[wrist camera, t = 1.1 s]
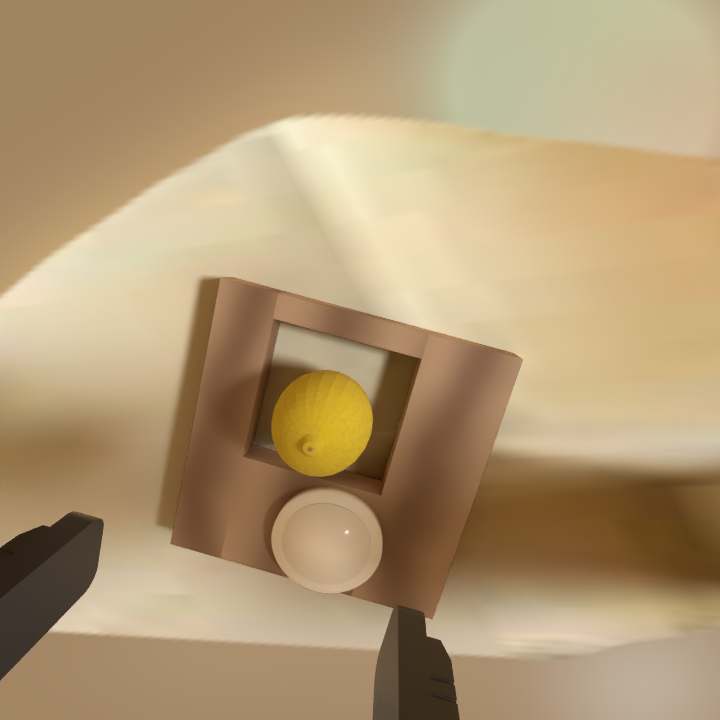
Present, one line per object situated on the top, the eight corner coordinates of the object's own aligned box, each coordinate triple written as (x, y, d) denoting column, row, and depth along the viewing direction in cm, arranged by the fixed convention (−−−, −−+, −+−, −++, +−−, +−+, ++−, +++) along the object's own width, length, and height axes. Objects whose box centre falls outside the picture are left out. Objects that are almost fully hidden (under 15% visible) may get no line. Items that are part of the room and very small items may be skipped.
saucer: (395, 503, 27) (395, 511, 26) (367, 597, 29) (365, 607, 28) (287, 473, 27) (284, 479, 27) (264, 567, 29) (260, 576, 28)
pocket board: (513, 353, 27) (522, 359, 25) (430, 597, 31) (432, 619, 29) (232, 277, 27) (220, 277, 25) (184, 526, 31) (170, 543, 29)
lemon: (305, 448, 29) (272, 513, 21) (280, 370, 28) (236, 407, 20) (385, 430, 29) (381, 489, 21) (363, 349, 28) (350, 379, 20)
